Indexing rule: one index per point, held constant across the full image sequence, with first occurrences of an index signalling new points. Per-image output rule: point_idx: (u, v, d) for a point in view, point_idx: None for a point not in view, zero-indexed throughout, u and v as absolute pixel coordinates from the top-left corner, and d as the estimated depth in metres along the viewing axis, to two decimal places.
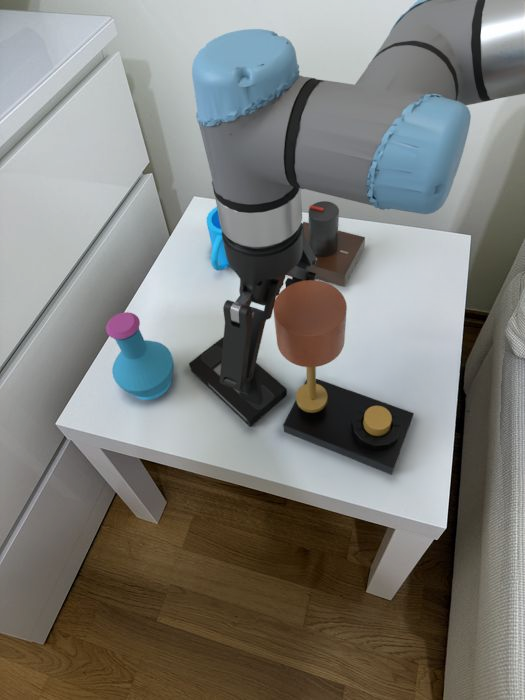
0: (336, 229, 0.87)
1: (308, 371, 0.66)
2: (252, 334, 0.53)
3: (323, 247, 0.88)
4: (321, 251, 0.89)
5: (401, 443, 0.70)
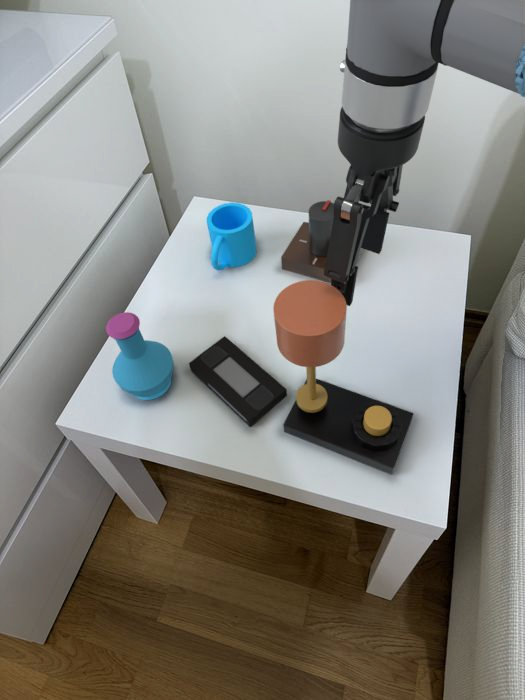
0: (316, 233, 0.86)
1: (308, 371, 0.66)
2: None
3: (309, 237, 0.90)
4: None
5: (401, 443, 0.70)
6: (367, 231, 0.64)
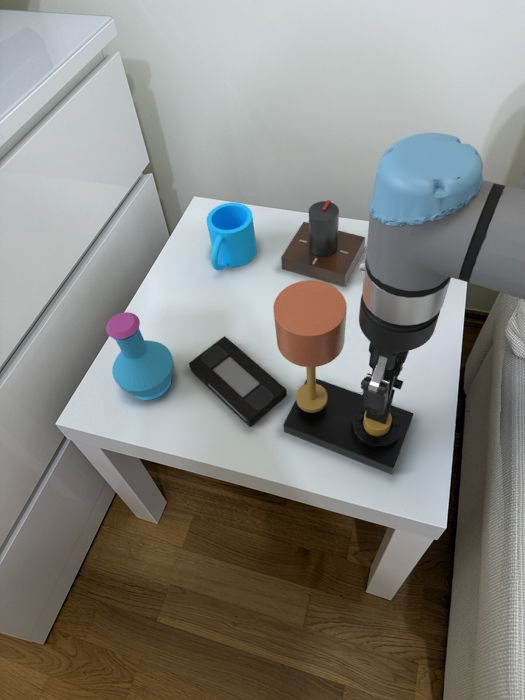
0: (316, 233, 0.86)
1: (308, 371, 0.66)
2: None
3: (309, 237, 0.90)
4: None
5: (401, 443, 0.70)
6: None
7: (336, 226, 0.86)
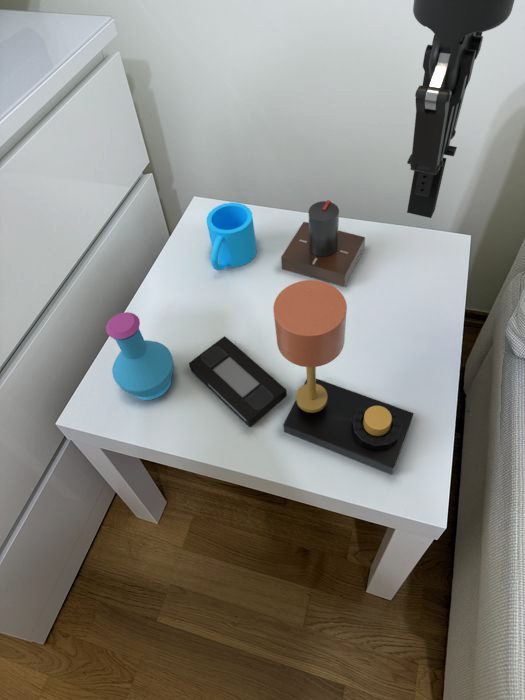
0: (316, 233, 0.86)
1: (308, 371, 0.66)
2: None
3: (309, 237, 0.90)
4: None
5: (401, 443, 0.70)
6: None
7: (336, 226, 0.86)
